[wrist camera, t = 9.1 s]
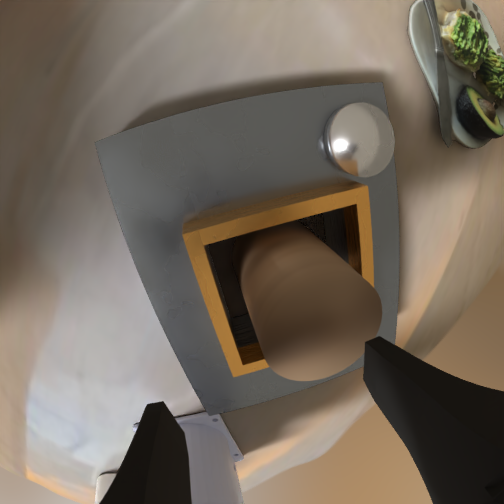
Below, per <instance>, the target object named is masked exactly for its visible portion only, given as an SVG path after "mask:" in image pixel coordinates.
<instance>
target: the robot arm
mask: <svg viewBox="0 0 504 504" xmlns="http://www.w3.org/2000/svg"><path fill="white" fill-rule="evenodd" d="M363 380H364V382H365V384H366V386H367V388H368V390H369V392H370V393H371V395H372V397H373V399H374V401H375V402H376V404H377V405H378V407H379V408H380V410H381V411H382V412H383V414H384V415H385V417H386V418H387V419H388V421H389V422H390V424H391V425H392V427H393V428H394V429H395V431H396V432H397V434H398V435H399V437H400V438H401V439H402V441H403V442H404V444H405V445H406V447H407V449H408V450H409V452H410V454H411V456H412V458H413V460H414V462H415V464H416V466H417V468H418V470H419V472H420V474H421V476H422V478H423V480H424V483H425V485H426V487H427V490H428V492H429V494H430V497H431V499H432V502H433V504H504V391H499V390H495V389H491V388H487V387H483V386H480V385H476V384H474V383H471V382H468V381H465V380H463V379H460V378H458V377H455V376H453V375H451V374H448V373H446V372H444V371H442V370H440V369H438V368H436V367H433V366H432V365H430V364H428V363H426V362H424V361H422V360H420V359H419V358H417V357H415V356H413V355H411V354H410V353H408V352H406V351H404V350H403V349H401V348H399V347H398V346H396V345H394V344H393V343H391V342H389V341H387V340H386V339H384V338H382V337H381V336H378V337H376V338H373V339H371V340H368V341H366V342H365V352H364V374H363ZM133 431H134V432H135V435H134V437H133V440H132V442H131V444H130V446H129V449H128V451H127V453H126V456H125V458H124V460H123V462H122V464H121V466H120V468H119V470H118V472H117V474H116V476H115V478H114V480H113V482H112V483H111V485H110V487H109V489H108V490H107V492H106V494H105V495H104V497H103V499H102V500H101V502H100V503H99V504H244V502H243V498H242V493H241V488H240V484H239V479H238V475H237V470H236V465H235V462H237V461H241V460H243V459H244V457H243V454H242V453H241V451H240V449H239V448H238V446H237V444H236V442H235V441H234V439H233V437H232V435H231V434H230V432H229V430H228V428H227V427H226V425H225V423H224V421H223V419H222V418H221V416H220V414H217V415H212V416H209V415H208V413H207V412H203V413H198V414H194V415H189V416H184V417H179V418H174V417H173V415H172V414H171V412H170V411H169V409H168V408H167V406H166V405H165V403H164V401H162V402H157V403H151V404H147V406H146V408H145V410H144V413H143V415H142V418H141V420H140V423H139V424H136V425H134V426H133Z"/></svg>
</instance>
